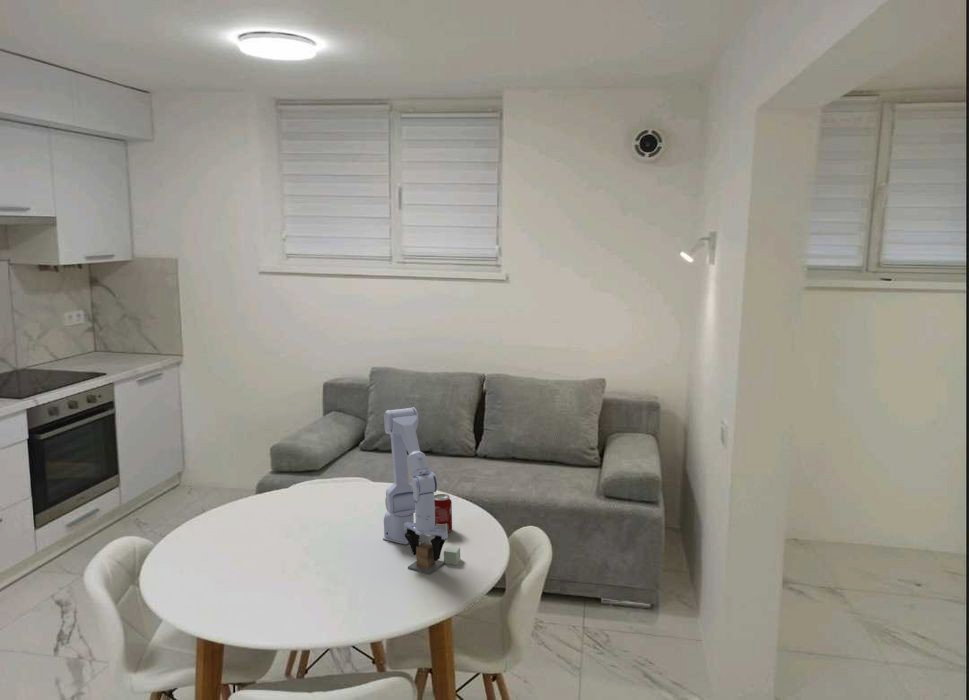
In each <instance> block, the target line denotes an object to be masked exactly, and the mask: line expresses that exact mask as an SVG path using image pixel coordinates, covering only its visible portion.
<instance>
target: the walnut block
mask: <svg viewBox="0 0 969 700" xmlns="http://www.w3.org/2000/svg"><path fill="white" fill-rule="evenodd" d="M415 557H416V560H415V561H416V563H417V566H419V567H423V568H427V569H428V568H430V567H431V566H432V565H434V564H435V561H434V557H433V547H432V544H430V543H426V542H421V543H419V545H418V546H417V547H416V555H415Z"/></svg>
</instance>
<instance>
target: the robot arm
mask: <svg viewBox="0 0 969 700" xmlns="http://www.w3.org/2000/svg"><path fill="white" fill-rule="evenodd" d="M419 419H420V418H419V412H418V410H417V409H416V408H415V407H414V406H411V407H408V408H407V407H406V408H399V409H387V410H385V412H384V415H383V425H384V426H383V427H384V431H385V434H387V435H390V442H391V443H390V445H391V457H392V458H391V460H392V472H393V473H392V475H393V483H392V484H391V485H390V486H389V487H388V488H387V489H386V491H385V498H384V499H385V501H384V502H385V509H386V513H385V514H384V516H383V537H382V539H383V540H386V541H389V542H393V543H398V544H401V545H408V544H409V546H410V550H411V552H412V556H416V547H417V546H418V545H420V541H419V536H420V535H422V534H427V535H431V536H435V538H433V539H432V540H431V543H432V547H433V557H434V561H437V560H439V559H441V554H442V550H443V546H444V544H445V543H446V540H447V539H448V538H449V537H448V536H449V532H448V531H445V530H443V529H441V528H439V527H437V526H435V505H434V495H435V493H436V492H437V490H438V479H437V476H436V474H435V473H434V472H433V470H432V469H431V468H430V466H429V462H428V460H427V457H426V454H425V453H424V452H422V451H421V449H420V444H419V440H418V435H417V432H416V431H417V429H418V425H419ZM409 472H410V475H411V482H410V481H409ZM414 514H415V516H414ZM414 517H415V518H414ZM414 519H415V521H414Z"/></svg>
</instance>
